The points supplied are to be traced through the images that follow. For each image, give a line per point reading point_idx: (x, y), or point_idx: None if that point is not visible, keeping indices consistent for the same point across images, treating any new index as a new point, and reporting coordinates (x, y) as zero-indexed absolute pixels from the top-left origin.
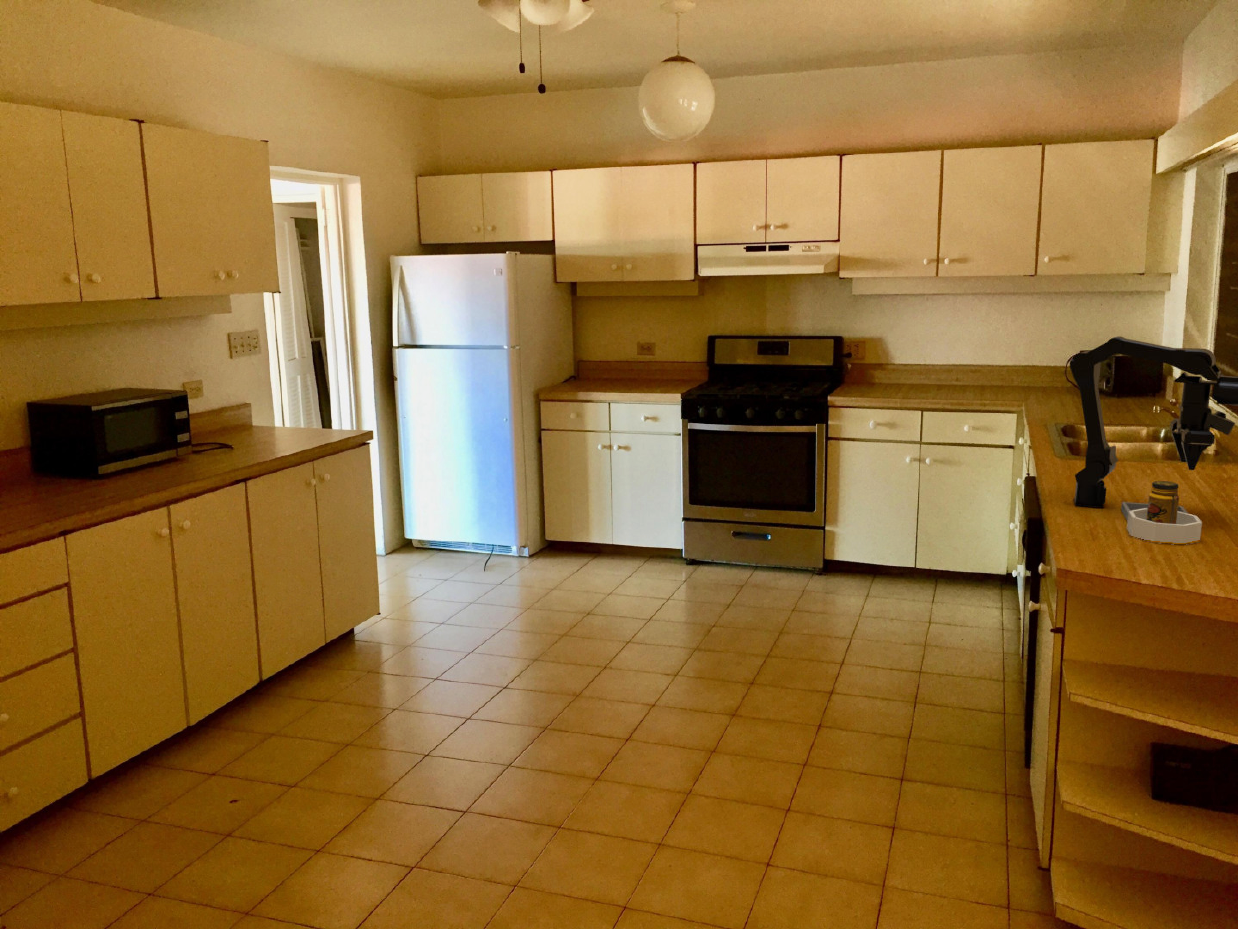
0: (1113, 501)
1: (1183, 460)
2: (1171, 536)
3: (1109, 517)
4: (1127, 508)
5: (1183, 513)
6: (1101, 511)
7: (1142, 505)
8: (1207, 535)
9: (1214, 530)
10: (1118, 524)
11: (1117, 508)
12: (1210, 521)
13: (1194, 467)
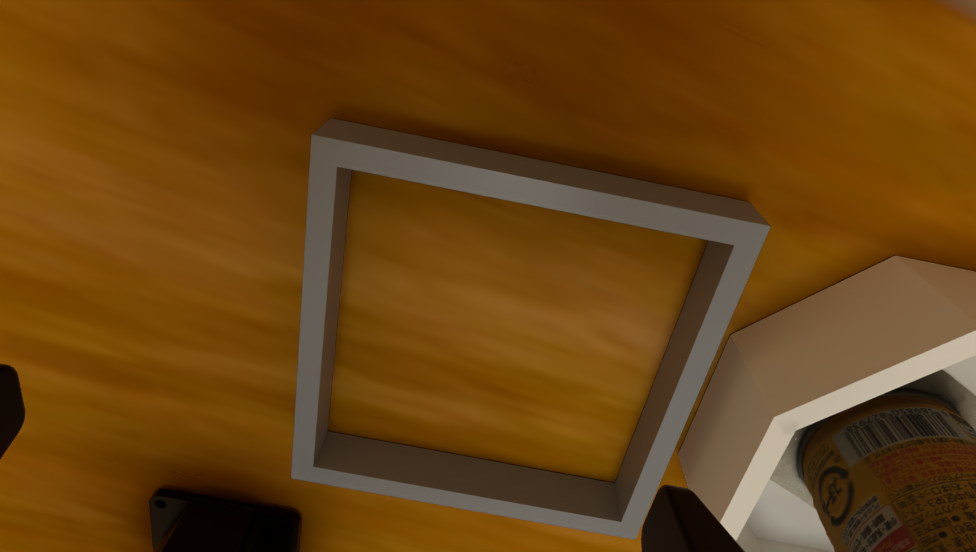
0: (102, 416)
1: (3, 418)
2: None
3: (494, 537)
4: (455, 498)
5: (891, 389)
6: (370, 533)
7: (322, 382)
8: (926, 174)
9: (803, 61)
10: (636, 542)
11: (278, 447)
12: None
13: (716, 531)
